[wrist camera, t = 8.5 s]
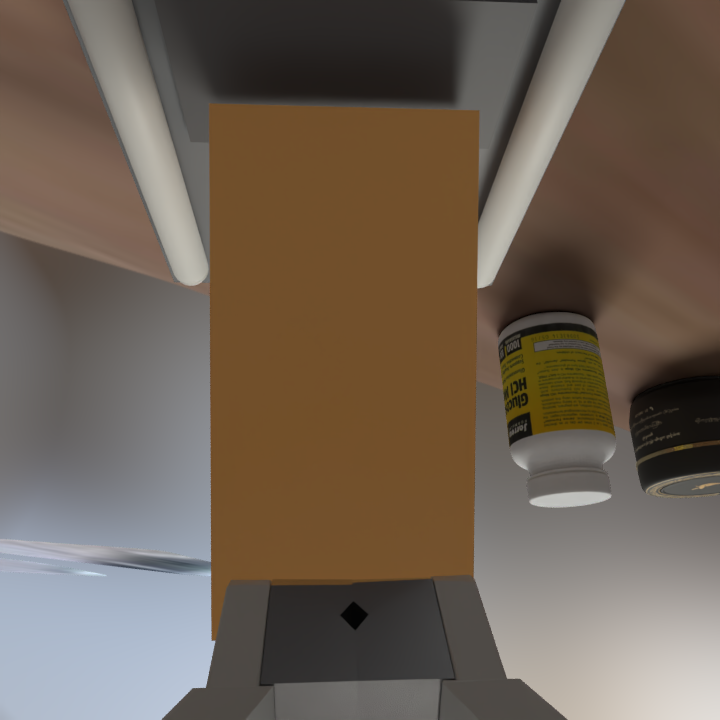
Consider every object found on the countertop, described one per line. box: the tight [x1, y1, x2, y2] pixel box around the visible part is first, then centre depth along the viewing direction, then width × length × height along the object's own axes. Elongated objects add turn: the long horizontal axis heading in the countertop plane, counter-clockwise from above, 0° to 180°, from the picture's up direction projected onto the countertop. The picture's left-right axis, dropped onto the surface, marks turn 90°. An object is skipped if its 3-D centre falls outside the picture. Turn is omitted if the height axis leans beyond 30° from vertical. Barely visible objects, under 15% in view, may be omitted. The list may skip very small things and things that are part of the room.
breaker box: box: [63, 0, 626, 288], centre depth 17 cm, size 12×20×7 cm, turn 177°
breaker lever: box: [209, 103, 480, 641], centre depth 16 cm, size 6×2×12 cm, turn 87°
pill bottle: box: [498, 312, 616, 507], centre depth 41 cm, size 6×6×11 cm
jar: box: [629, 376, 720, 498], centre depth 53 cm, size 10×10×8 cm
